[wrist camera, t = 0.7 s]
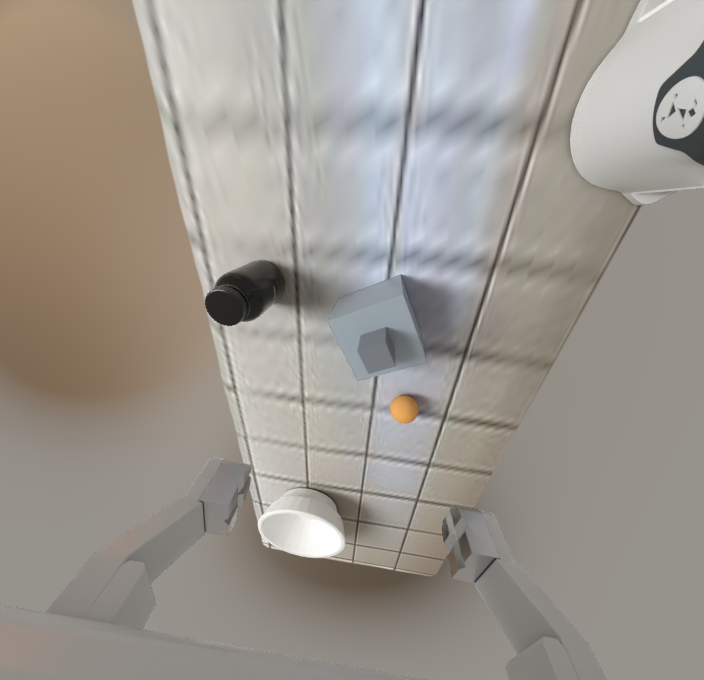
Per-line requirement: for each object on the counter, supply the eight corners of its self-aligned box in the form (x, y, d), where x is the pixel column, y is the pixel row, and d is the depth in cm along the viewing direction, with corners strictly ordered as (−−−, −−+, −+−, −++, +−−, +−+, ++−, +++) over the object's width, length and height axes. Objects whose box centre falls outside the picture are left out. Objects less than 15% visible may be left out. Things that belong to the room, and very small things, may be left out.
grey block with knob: (400, 274, 38) (404, 306, 27) (420, 332, 42) (431, 381, 31) (338, 298, 41) (319, 335, 30) (363, 349, 45) (354, 399, 34)
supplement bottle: (293, 294, 42) (261, 326, 31) (258, 305, 44) (216, 340, 33) (273, 252, 39) (231, 273, 29) (236, 266, 41) (184, 291, 30)
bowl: (349, 528, 76) (345, 564, 69) (276, 517, 78) (264, 550, 71) (350, 483, 65) (345, 519, 58) (265, 471, 67) (249, 505, 60)
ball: (412, 386, 48) (414, 405, 43) (420, 406, 50) (423, 426, 45) (386, 393, 49) (386, 412, 45) (395, 411, 51) (395, 431, 47)
